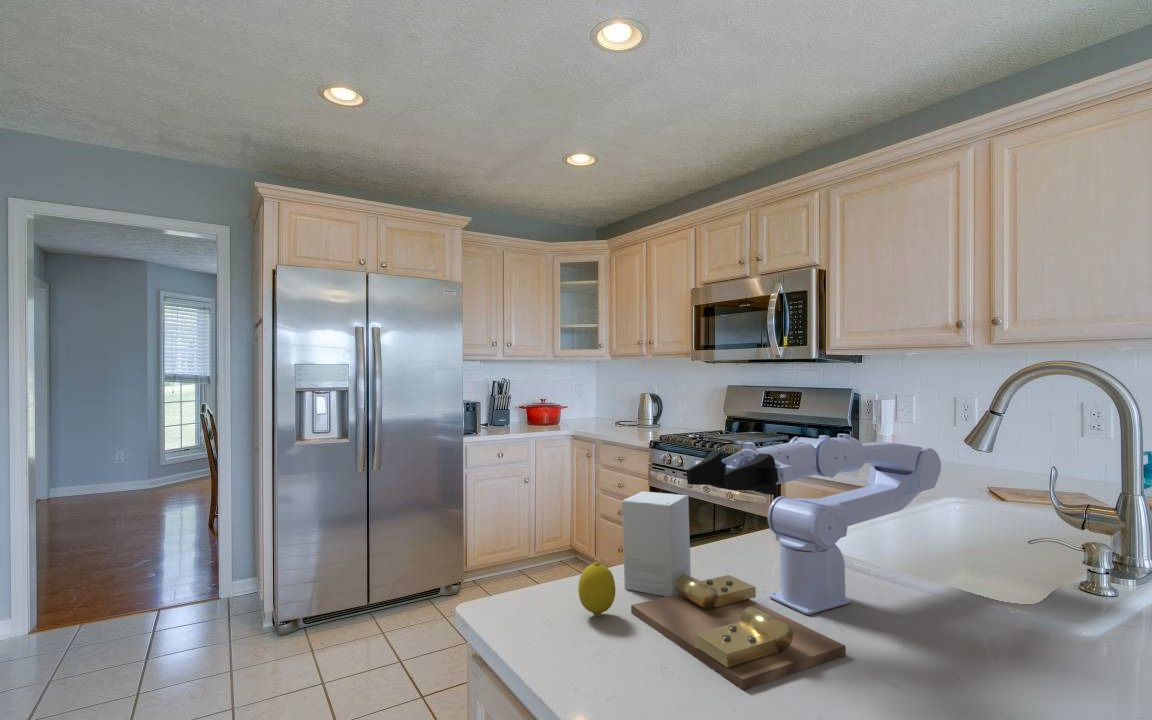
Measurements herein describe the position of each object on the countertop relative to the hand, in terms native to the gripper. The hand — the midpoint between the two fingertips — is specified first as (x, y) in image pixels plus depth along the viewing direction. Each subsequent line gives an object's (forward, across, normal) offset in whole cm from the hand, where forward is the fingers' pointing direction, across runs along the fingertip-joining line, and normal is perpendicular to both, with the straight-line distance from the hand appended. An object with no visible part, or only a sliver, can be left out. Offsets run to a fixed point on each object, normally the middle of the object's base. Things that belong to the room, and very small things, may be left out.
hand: (706, 479), depth 80 cm
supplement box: (-4, -19, +20) cm, 28 cm away
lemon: (+12, -14, +20) cm, 27 cm away
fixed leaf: (-6, -8, +20) cm, 22 cm away
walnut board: (-1, 0, +21) cm, 21 cm away
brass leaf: (+2, +6, +20) cm, 21 cm away
